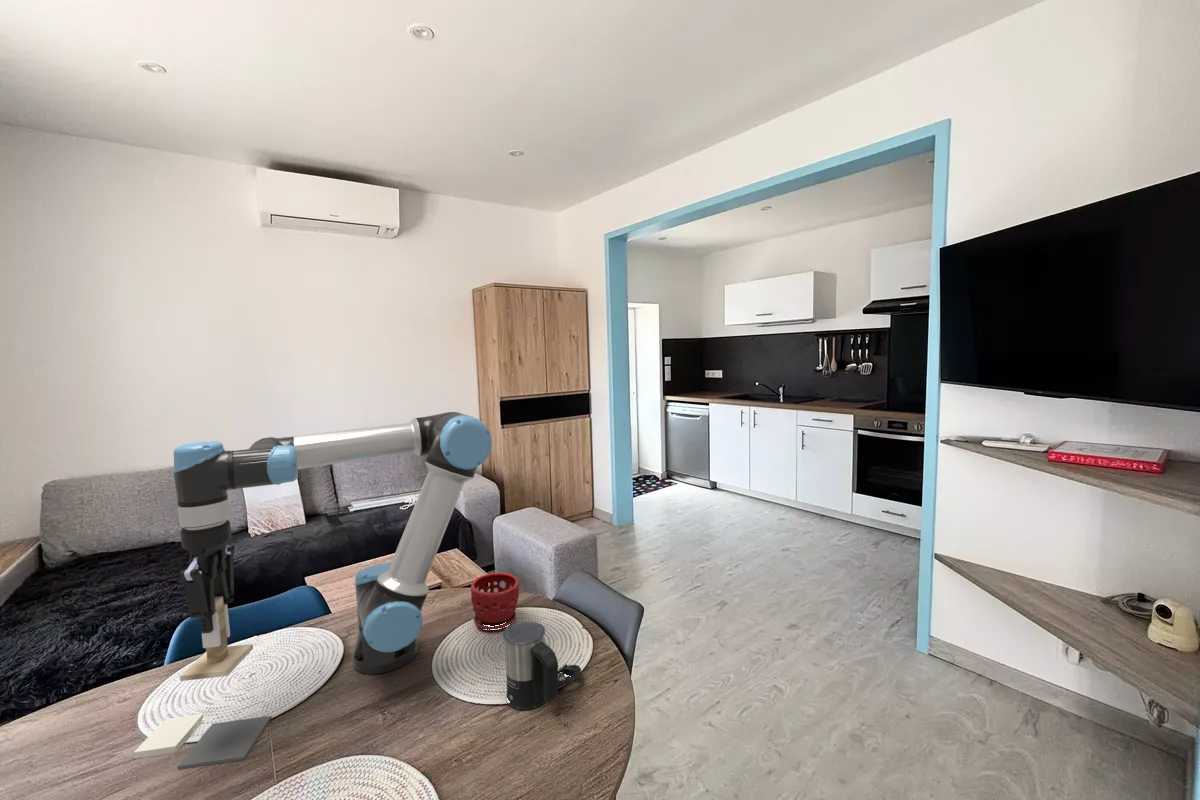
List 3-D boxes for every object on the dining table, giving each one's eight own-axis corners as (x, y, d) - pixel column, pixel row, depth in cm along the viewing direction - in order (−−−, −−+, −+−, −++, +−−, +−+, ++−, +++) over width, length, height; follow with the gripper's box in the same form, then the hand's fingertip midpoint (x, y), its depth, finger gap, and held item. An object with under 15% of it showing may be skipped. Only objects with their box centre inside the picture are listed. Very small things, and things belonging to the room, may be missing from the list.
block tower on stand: (253, 648, 103) (247, 587, 102) (227, 675, 94) (221, 609, 93) (210, 653, 102) (203, 591, 101) (180, 681, 93) (173, 613, 92)
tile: (203, 713, 105) (175, 746, 97) (203, 721, 106) (176, 754, 97) (165, 719, 104) (133, 752, 95) (165, 727, 104) (134, 761, 95)
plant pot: (471, 638, 133) (469, 595, 132) (473, 614, 146) (471, 574, 145) (521, 632, 136) (519, 589, 135) (519, 608, 149) (517, 569, 148)
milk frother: (496, 704, 108) (493, 638, 107) (535, 662, 122) (533, 603, 121) (554, 722, 102) (552, 652, 101) (588, 676, 116) (586, 615, 115)
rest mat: (271, 718, 105) (271, 715, 105) (244, 759, 95) (243, 756, 94) (212, 726, 103) (212, 723, 103) (178, 769, 93) (177, 766, 93)
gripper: (208, 512, 103) (219, 623, 105) (154, 539, 87) (167, 668, 90) (248, 510, 104) (258, 619, 106) (201, 536, 89) (214, 663, 91)
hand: (216, 641), depth 98 cm, fingers closed on block tower on stand, 2 cm apart
